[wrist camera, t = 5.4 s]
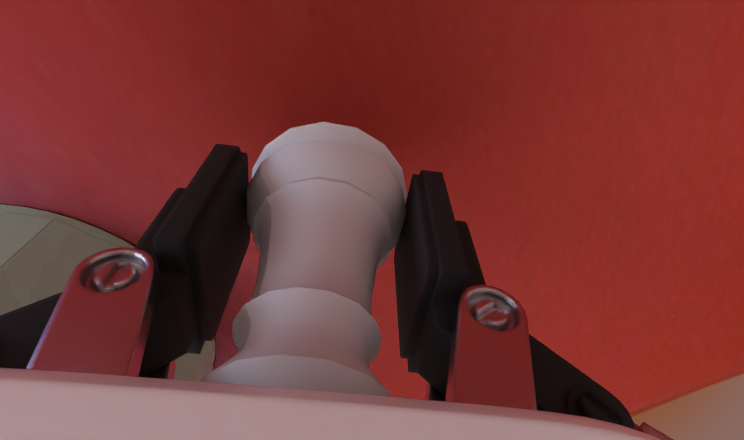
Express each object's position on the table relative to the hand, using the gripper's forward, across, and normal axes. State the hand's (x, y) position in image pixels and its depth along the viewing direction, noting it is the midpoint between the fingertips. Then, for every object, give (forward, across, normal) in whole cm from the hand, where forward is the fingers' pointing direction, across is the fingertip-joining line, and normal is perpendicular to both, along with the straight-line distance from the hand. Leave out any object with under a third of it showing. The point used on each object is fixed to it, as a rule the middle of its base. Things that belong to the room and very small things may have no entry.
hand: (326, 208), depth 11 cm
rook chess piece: (+1, 0, 0) cm, 1 cm away
